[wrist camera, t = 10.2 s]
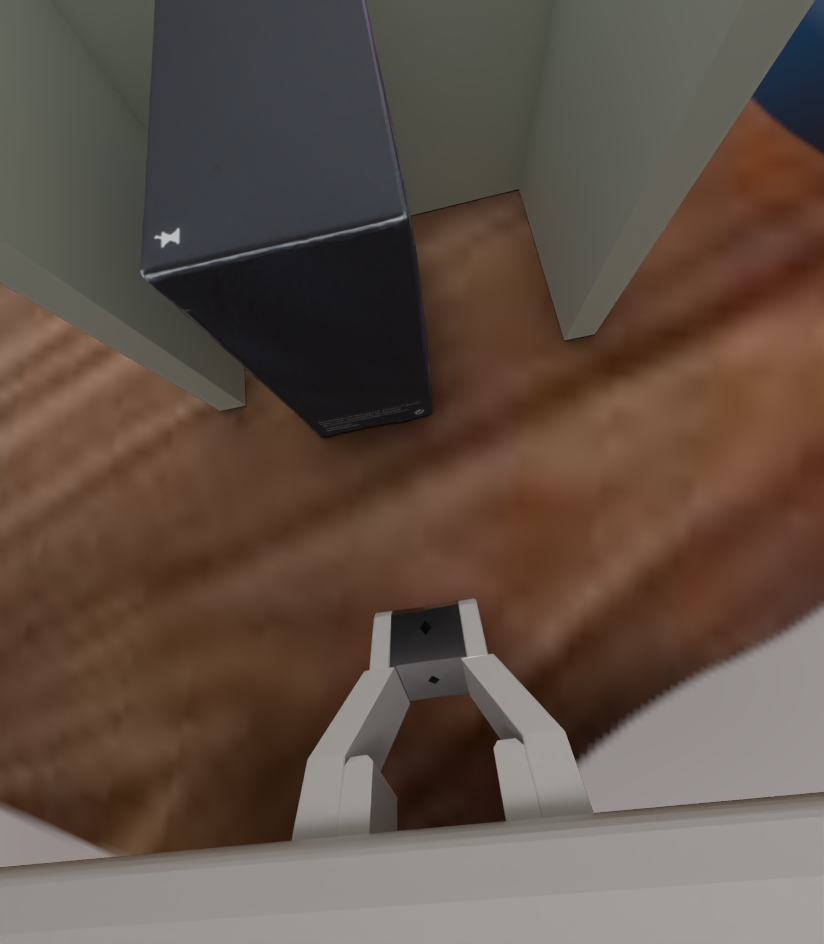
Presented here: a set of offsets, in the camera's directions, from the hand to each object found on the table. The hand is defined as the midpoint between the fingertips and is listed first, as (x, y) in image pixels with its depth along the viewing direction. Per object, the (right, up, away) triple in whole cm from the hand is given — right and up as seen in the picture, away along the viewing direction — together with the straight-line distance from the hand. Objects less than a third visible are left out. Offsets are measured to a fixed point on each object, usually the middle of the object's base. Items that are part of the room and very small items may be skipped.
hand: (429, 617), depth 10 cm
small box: (-3, +12, +9) cm, 15 cm away
